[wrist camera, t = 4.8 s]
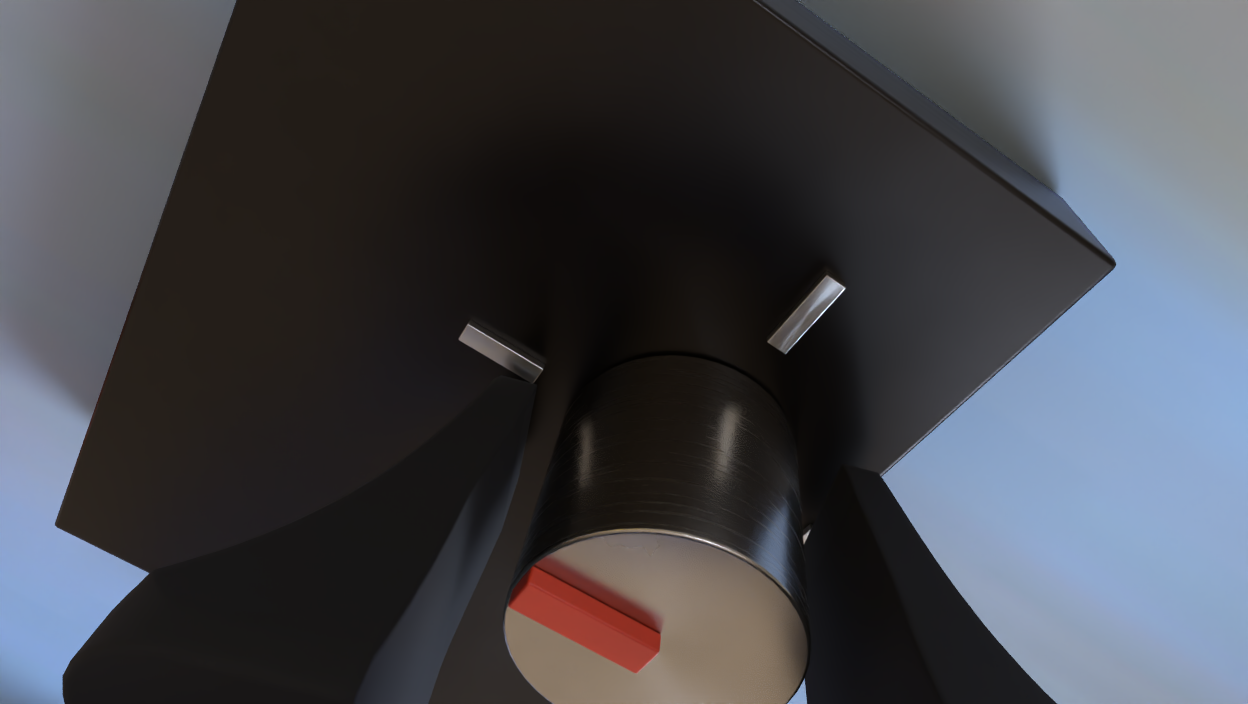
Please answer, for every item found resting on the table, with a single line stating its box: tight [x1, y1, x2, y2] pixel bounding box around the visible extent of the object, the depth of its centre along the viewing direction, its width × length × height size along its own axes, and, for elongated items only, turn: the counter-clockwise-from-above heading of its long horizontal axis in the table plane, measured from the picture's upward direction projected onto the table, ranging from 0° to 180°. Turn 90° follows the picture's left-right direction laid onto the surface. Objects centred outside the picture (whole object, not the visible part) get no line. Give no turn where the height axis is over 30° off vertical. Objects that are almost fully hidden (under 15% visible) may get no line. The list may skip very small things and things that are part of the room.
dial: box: [503, 355, 812, 704], centre depth 13 cm, size 4×4×4 cm
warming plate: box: [55, 0, 1116, 704], centre depth 16 cm, size 16×13×3 cm
